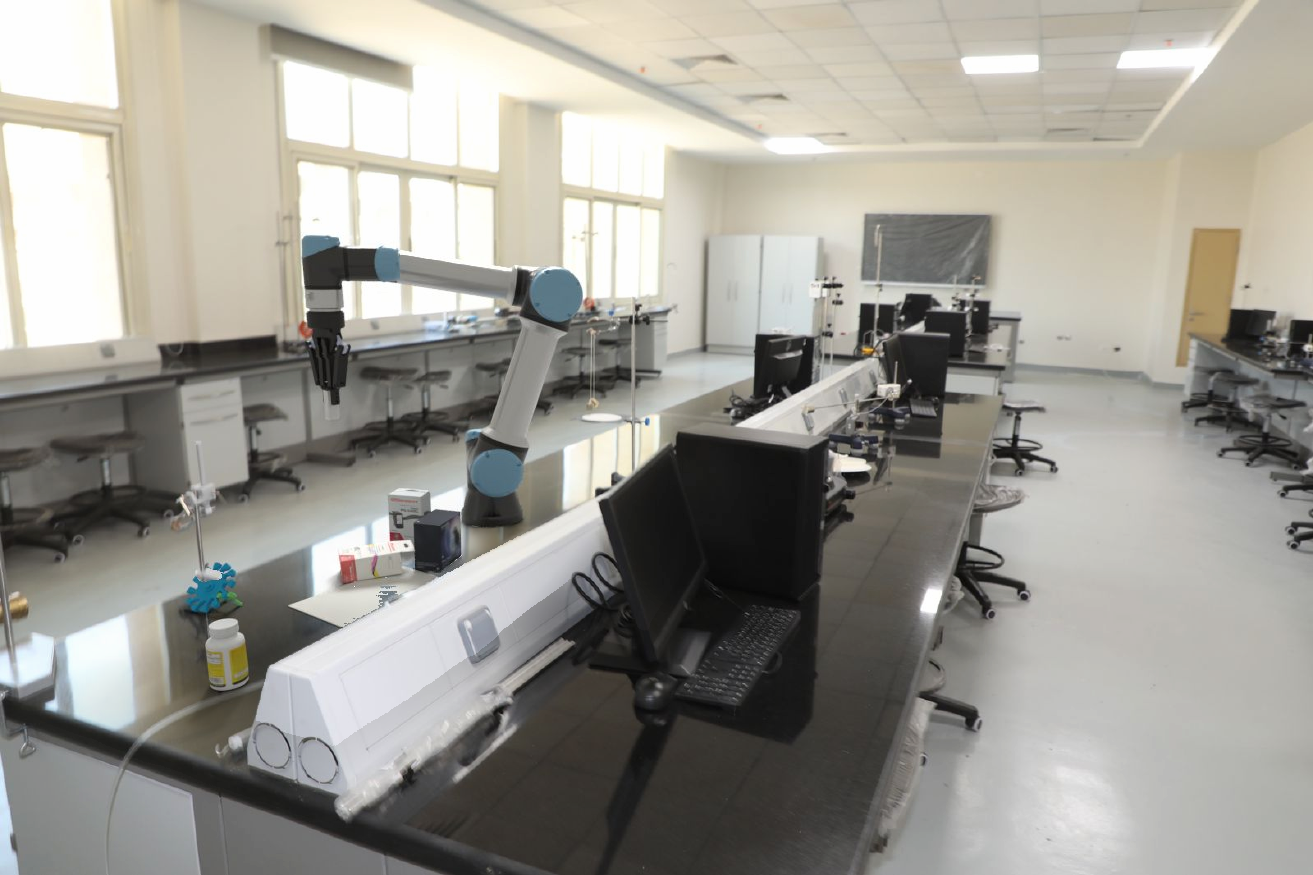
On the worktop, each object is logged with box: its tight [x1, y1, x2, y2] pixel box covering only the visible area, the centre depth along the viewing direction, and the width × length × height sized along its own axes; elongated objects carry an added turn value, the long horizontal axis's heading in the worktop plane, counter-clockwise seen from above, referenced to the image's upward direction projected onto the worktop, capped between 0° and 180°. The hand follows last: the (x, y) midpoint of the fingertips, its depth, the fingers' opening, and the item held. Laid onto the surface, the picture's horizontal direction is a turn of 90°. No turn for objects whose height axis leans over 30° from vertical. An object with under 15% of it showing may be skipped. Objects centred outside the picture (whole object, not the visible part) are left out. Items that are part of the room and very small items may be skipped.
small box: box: [413, 508, 463, 573], centre depth 180 cm, size 11×6×10 cm, turn 169°
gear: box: [185, 562, 243, 614], centre depth 158 cm, size 11×6×10 cm
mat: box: [287, 564, 437, 628], centre depth 163 cm, size 26×18×1 cm
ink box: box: [387, 487, 432, 546], centre depth 193 cm, size 9×5×12 cm, turn 78°
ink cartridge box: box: [337, 540, 415, 584], centre depth 175 cm, size 9×5×15 cm
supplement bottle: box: [205, 617, 250, 692], centre depth 128 cm, size 5×5×10 cm
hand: (332, 419), depth 184 cm, fingers closed
